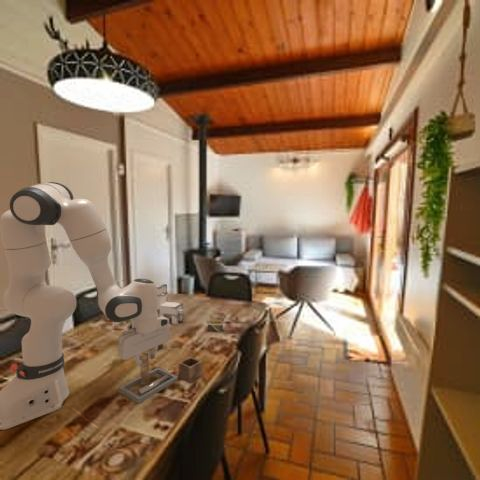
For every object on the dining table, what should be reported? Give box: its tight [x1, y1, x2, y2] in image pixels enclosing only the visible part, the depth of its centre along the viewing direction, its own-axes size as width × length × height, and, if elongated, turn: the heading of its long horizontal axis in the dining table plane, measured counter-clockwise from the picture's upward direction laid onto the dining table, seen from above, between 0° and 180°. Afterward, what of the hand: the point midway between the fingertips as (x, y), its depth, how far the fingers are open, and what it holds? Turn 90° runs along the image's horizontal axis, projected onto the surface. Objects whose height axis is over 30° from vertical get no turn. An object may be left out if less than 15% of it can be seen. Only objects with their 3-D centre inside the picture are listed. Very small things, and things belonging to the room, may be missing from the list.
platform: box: [205, 318, 226, 333], centre depth 163 cm, size 12×18×7 cm, turn 84°
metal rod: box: [137, 374, 170, 397], centre depth 110 cm, size 12×2×2 cm, turn 144°
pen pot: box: [178, 356, 203, 384], centre depth 118 cm, size 6×6×6 cm
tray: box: [118, 367, 179, 405], centre depth 112 cm, size 17×11×2 cm, turn 144°
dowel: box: [138, 352, 151, 387], centre depth 113 cm, size 3×3×11 cm
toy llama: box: [156, 283, 185, 326], centre depth 175 cm, size 8×18×20 cm, turn 71°
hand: (145, 361), depth 112 cm, fingers open, 4 cm apart
